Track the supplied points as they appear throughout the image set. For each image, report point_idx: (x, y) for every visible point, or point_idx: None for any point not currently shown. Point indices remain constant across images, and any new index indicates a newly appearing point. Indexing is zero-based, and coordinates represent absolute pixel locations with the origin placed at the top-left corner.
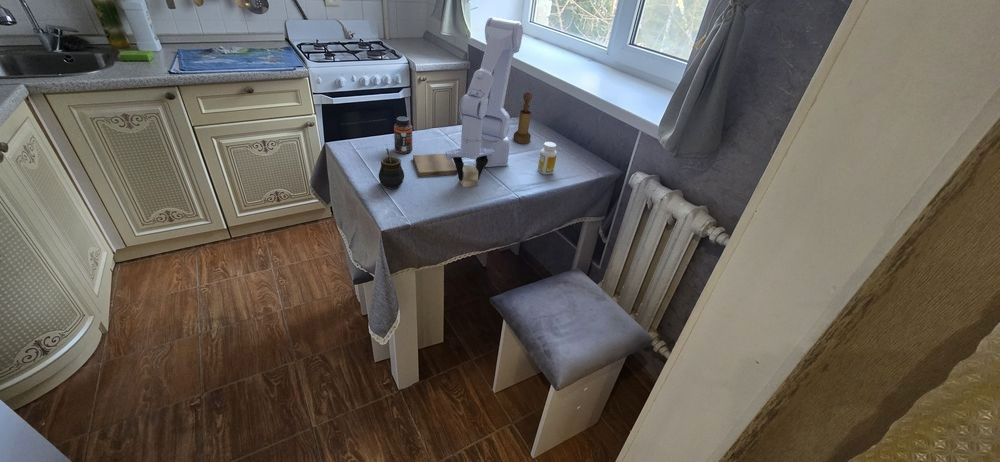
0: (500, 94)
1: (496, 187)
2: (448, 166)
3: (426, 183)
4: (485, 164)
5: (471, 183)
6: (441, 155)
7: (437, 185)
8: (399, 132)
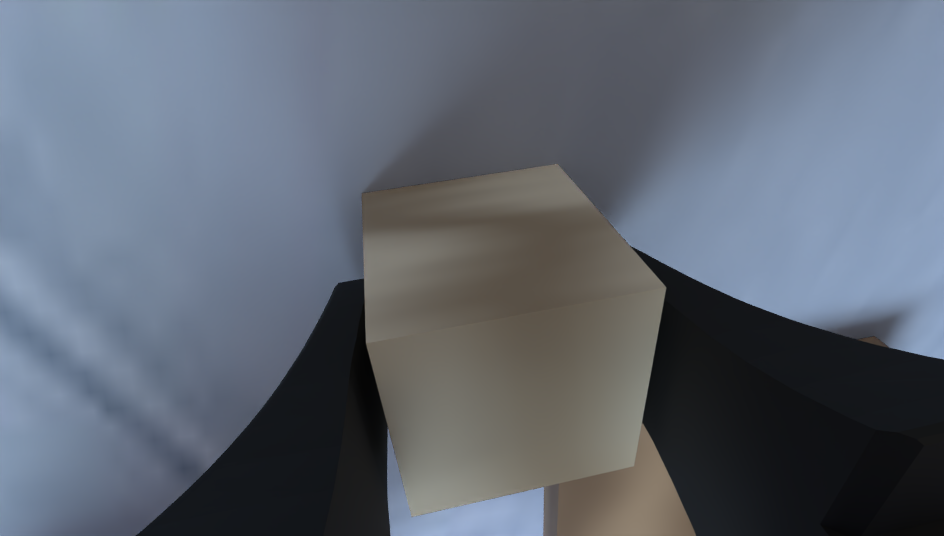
0: None
1: (40, 149)
2: (623, 478)
3: (892, 231)
4: (163, 529)
5: (454, 200)
6: None
7: (819, 195)
8: None
